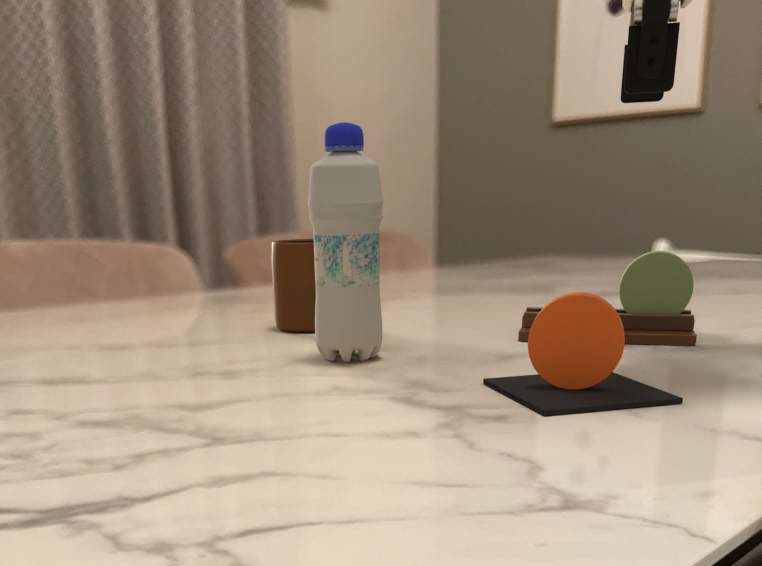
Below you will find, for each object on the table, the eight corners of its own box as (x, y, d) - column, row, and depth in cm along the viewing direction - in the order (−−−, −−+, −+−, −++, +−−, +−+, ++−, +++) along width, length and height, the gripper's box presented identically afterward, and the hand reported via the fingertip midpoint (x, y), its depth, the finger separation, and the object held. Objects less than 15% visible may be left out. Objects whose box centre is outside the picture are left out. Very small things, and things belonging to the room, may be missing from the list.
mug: (383, 323, 99) (383, 237, 95) (374, 333, 92) (373, 242, 88) (284, 322, 101) (279, 238, 97) (267, 333, 94) (262, 243, 90)
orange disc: (530, 387, 67) (528, 295, 64) (623, 383, 65) (625, 288, 62) (528, 391, 65) (526, 298, 63) (624, 387, 63) (625, 291, 61)
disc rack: (525, 327, 94) (526, 304, 93) (687, 330, 90) (690, 306, 89) (518, 341, 86) (519, 316, 85) (695, 345, 82) (699, 319, 81)
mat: (604, 373, 71) (604, 368, 71) (682, 403, 61) (683, 398, 61) (482, 383, 69) (482, 378, 69) (544, 416, 59) (544, 410, 59)
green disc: (615, 321, 88) (622, 250, 85) (687, 322, 86) (696, 250, 84) (616, 323, 87) (623, 251, 84) (688, 325, 85) (698, 251, 82)
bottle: (319, 351, 83) (310, 125, 76) (387, 350, 83) (385, 123, 75) (308, 364, 77) (298, 120, 69) (382, 364, 76) (379, 118, 69)
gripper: (754, -266, 47) (713, 84, 53) (715, -159, 62) (687, 102, 69) (613, -245, 49) (590, 91, 55) (609, -146, 64) (592, 107, 71)
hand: (644, 97), depth 62 cm, fingers open, 9 cm apart
